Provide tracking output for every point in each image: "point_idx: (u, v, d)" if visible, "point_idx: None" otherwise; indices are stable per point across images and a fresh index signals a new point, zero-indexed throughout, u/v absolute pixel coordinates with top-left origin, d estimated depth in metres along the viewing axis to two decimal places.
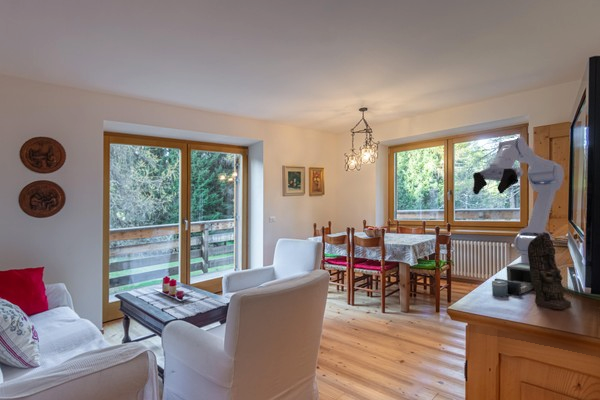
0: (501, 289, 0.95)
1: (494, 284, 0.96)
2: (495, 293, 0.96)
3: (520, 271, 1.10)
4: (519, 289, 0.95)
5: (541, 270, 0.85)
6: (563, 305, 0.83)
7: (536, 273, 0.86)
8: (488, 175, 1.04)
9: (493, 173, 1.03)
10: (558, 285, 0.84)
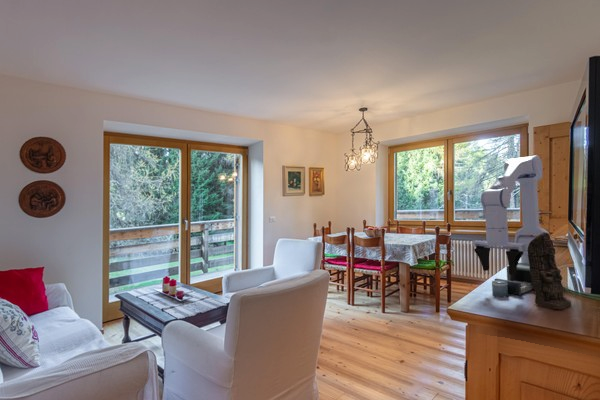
0: (501, 289, 0.95)
1: (494, 284, 0.96)
2: (495, 293, 0.96)
3: (520, 271, 1.10)
4: (519, 289, 0.95)
5: (541, 270, 0.85)
6: (563, 305, 0.83)
7: (536, 273, 0.86)
8: (489, 246, 0.99)
9: None
10: (558, 285, 0.84)
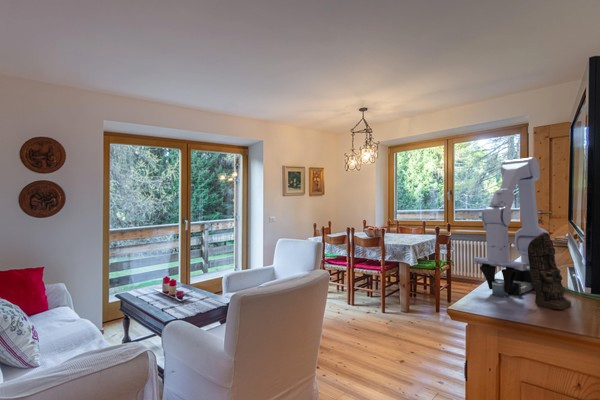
0: (501, 289, 0.95)
1: (494, 284, 0.96)
2: (495, 293, 0.96)
3: (520, 271, 1.10)
4: (519, 289, 0.95)
5: (541, 270, 0.85)
6: (563, 305, 0.83)
7: (536, 273, 0.86)
8: (490, 264, 0.98)
9: None
10: (558, 285, 0.84)
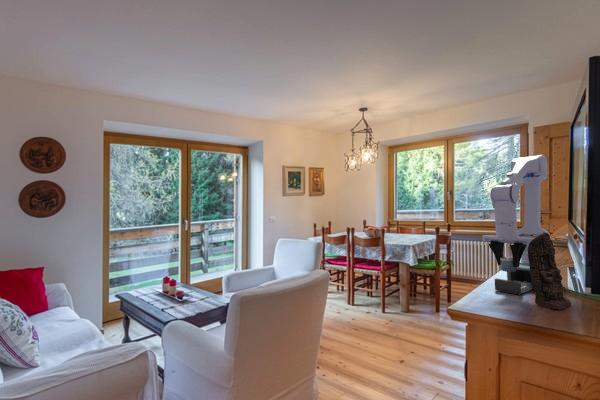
0: (510, 264, 0.97)
1: (503, 259, 0.99)
2: (504, 268, 0.99)
3: (520, 271, 1.10)
4: (519, 289, 0.95)
5: (541, 270, 0.85)
6: (563, 305, 0.83)
7: (536, 273, 0.86)
8: (498, 241, 1.01)
9: None
10: (558, 285, 0.84)
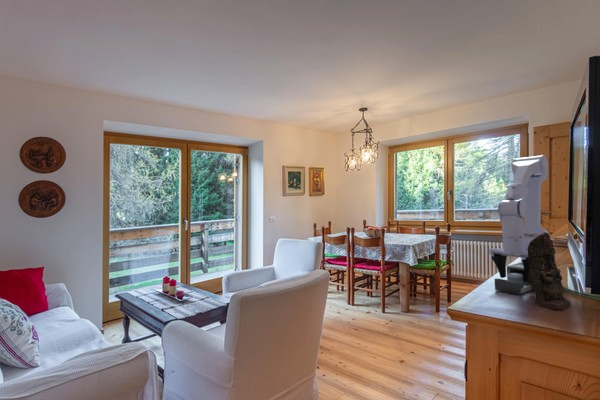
0: (517, 281, 0.99)
1: (510, 276, 1.00)
2: None
3: (520, 271, 1.10)
4: (519, 289, 0.95)
5: (541, 270, 0.85)
6: (563, 305, 0.83)
7: (536, 273, 0.86)
8: (505, 254, 1.03)
9: None
10: (558, 285, 0.84)
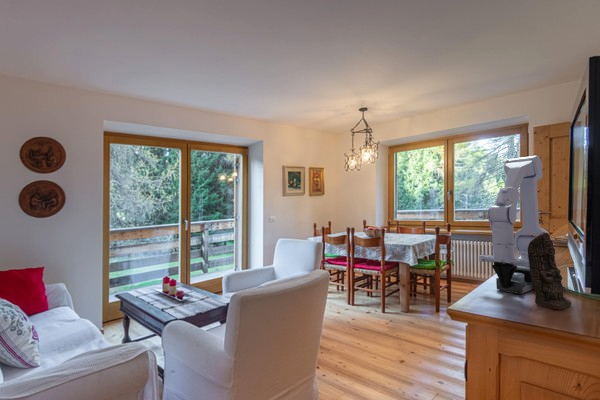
0: None
1: None
2: None
3: (520, 271, 1.10)
4: (521, 288, 0.96)
5: (541, 270, 0.85)
6: (563, 305, 0.83)
7: (536, 273, 0.86)
8: (496, 261, 1.00)
9: None
10: (558, 285, 0.84)
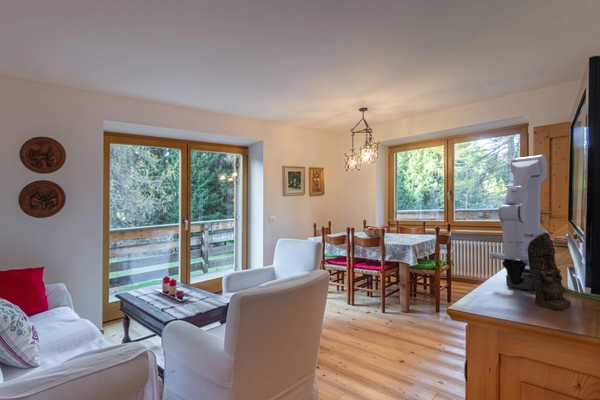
0: (528, 277, 1.03)
1: None
2: None
3: None
4: (530, 285, 0.99)
5: (541, 270, 0.85)
6: (563, 305, 0.83)
7: (536, 273, 0.86)
8: (506, 259, 1.03)
9: None
10: (558, 285, 0.84)
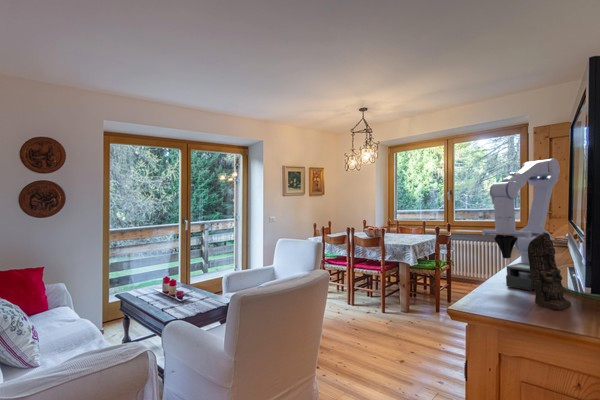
0: (528, 277, 1.03)
1: (521, 273, 1.04)
2: None
3: None
4: (530, 285, 0.99)
5: (541, 270, 0.85)
6: (563, 305, 0.83)
7: (536, 273, 0.86)
8: (498, 234, 1.08)
9: None
10: (558, 285, 0.84)
